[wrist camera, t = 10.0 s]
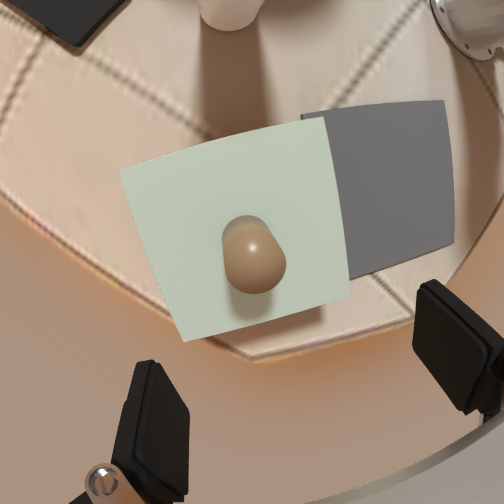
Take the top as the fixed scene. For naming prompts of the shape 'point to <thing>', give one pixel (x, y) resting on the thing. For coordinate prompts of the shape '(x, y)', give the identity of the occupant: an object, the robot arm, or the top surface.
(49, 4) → the smart home device
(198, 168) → the cover sheet
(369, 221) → the mat
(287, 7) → the top surface
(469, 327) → the robot arm
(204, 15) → the drinking glass
